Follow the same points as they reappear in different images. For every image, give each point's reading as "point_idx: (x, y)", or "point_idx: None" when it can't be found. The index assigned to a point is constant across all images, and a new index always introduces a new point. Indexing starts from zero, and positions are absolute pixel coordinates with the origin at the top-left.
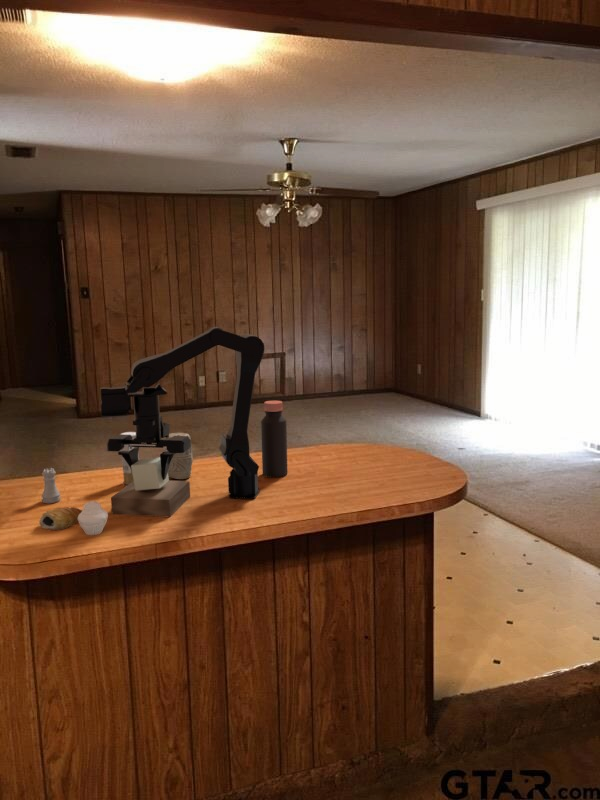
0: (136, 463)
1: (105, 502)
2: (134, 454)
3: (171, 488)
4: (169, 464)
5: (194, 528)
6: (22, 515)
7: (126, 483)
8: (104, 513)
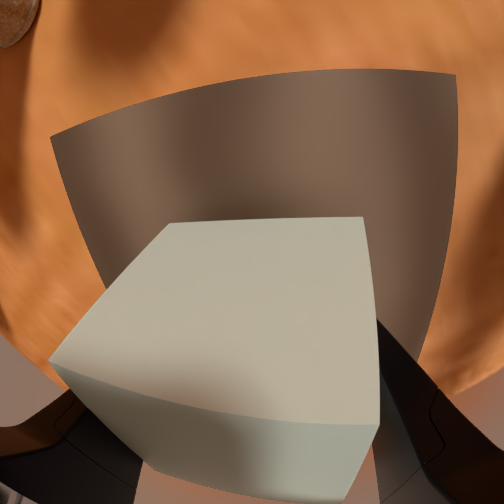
0: (150, 457)
1: (70, 242)
2: (88, 492)
3: (388, 249)
4: (439, 399)
5: (468, 363)
6: (23, 343)
7: (6, 46)
8: None
